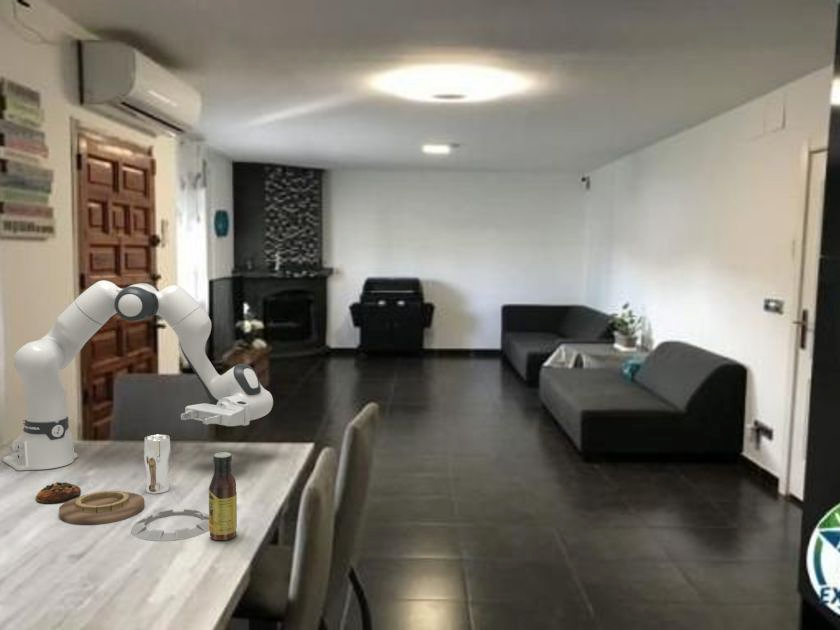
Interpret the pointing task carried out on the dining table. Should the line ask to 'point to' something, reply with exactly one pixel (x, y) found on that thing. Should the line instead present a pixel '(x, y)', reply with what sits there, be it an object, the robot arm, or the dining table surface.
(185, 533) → the ring
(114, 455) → the dining table surface
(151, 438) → the beer glass
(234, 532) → the sauce bottle
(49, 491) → the bread roll
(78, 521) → the round tray
